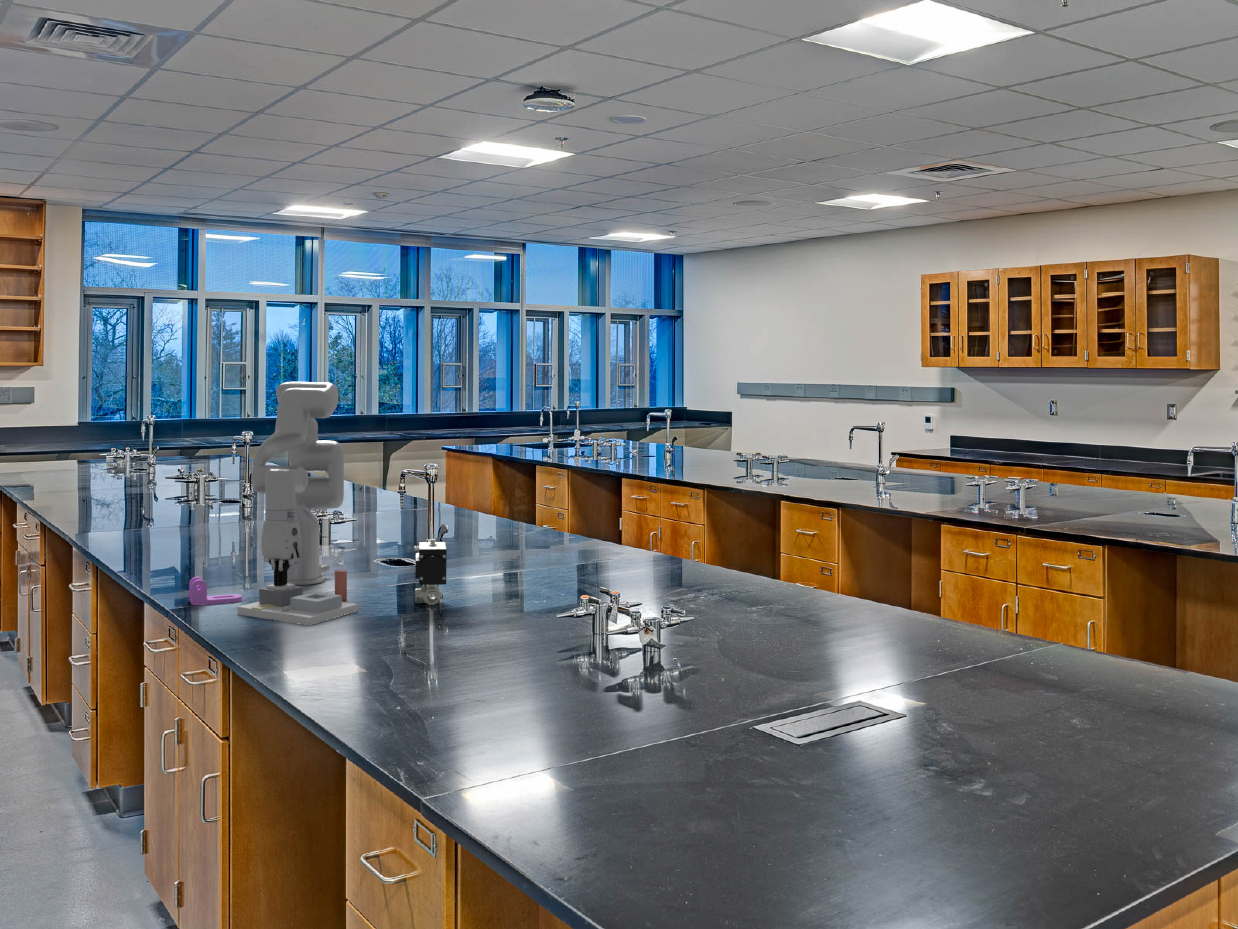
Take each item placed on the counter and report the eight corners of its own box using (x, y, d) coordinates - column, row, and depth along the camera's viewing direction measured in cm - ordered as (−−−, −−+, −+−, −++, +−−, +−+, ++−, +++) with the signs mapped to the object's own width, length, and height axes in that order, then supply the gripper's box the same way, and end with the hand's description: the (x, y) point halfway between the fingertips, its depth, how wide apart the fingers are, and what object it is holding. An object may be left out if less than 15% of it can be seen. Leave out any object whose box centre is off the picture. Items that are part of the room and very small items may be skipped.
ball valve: (414, 596, 287) (414, 534, 286) (444, 596, 289) (445, 534, 288) (413, 610, 270) (414, 544, 268) (446, 610, 271) (446, 544, 270)
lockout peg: (340, 602, 278) (340, 569, 277) (349, 603, 277) (349, 570, 276) (332, 604, 275) (332, 571, 275) (341, 605, 274) (341, 572, 273)
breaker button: (280, 597, 270) (280, 582, 270) (294, 599, 268) (294, 584, 268) (266, 600, 265) (266, 585, 265) (281, 602, 263) (281, 587, 263)
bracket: (192, 606, 270) (191, 580, 269) (189, 602, 275) (189, 577, 274) (243, 602, 276) (243, 577, 276) (240, 598, 281) (239, 573, 280)
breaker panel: (288, 601, 278) (288, 579, 277) (357, 611, 267) (357, 589, 267) (237, 614, 261) (237, 591, 261) (309, 625, 251) (309, 601, 251)
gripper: (312, 516, 265) (312, 585, 266) (269, 512, 271) (269, 580, 273) (292, 519, 258) (292, 590, 260) (248, 515, 265) (248, 584, 266)
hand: (280, 584), depth 266 cm, fingers closed
